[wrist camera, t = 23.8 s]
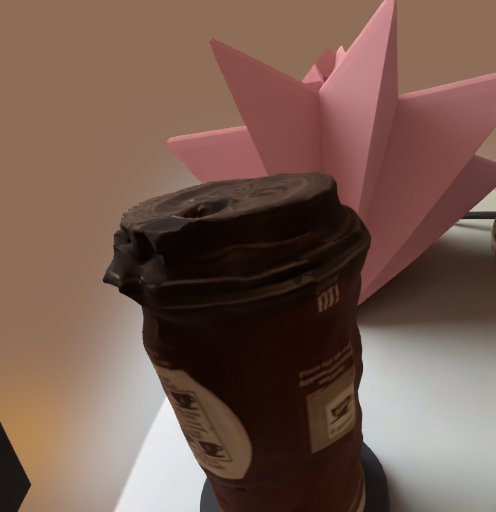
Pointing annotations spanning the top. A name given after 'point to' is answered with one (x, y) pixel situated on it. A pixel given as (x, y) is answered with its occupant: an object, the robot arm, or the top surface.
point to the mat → (374, 480)
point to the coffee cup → (256, 333)
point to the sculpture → (359, 141)
